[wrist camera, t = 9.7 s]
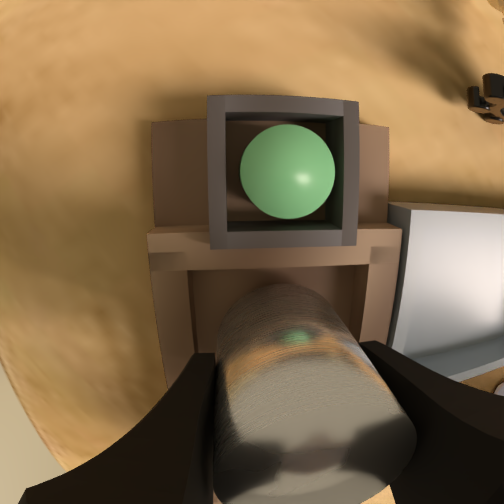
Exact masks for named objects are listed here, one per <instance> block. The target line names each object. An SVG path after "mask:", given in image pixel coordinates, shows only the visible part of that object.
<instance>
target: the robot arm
mask: <svg viewBox="0 0 504 504" xmlns="http://www.w3.org/2000/svg"><path fill="white" fill-rule="evenodd" d="M358 344H359V345H360V347H361V348H362V350H363V351H364V353H365V354H366V355H367V357H368V358H369V360H370V361H371V363H372V364H373V365H374V367H375V368H376V370H377V371H378V373H379V374H380V376H381V377H382V379H383V380H384V381H385V383H386V384H387V386H388V387H389V389H390V390H391V392H392V393H393V395H394V396H395V398H396V399H397V401H398V402H399V403H400V405H401V406H402V408H403V409H404V411H405V412H406V414H407V415H408V417H409V418H410V420H411V421H412V423H413V425H414V427H415V429H416V434H417V443H416V447H415V451H414V453H413V455H412V458H411V459H410V461H409V463H408V464H407V466H406V467H405V468H404V470H403V471H402V472H401V473H400V474H399V476H398V477H397V478H396V479H395V480H394V481H392V482H391V483H390V487H391V490H392V493H393V496H394V500H395V503H396V504H504V382H503V383H501V384H500V385H499V386H498V387H497V388H496V390H495V392H494V394H493V393H489V392H485V391H482V390H479V389H476V388H473V387H470V386H467V385H465V384H462V383H459V382H457V381H454V380H452V379H450V378H448V377H445V376H443V375H441V374H439V373H437V372H435V371H433V370H431V369H429V368H427V367H425V366H423V365H421V364H419V363H417V362H416V361H414V360H412V359H410V358H408V357H406V356H405V355H403V354H401V353H399V352H397V351H396V350H394V349H392V348H390V347H388V346H386V345H384V344H382V343H380V342H378V341H376V340H373V341H366V342H358ZM215 377H216V361H215V353H194V354H193V355H192V356H191V357H190V359H189V361H188V362H187V364H186V366H185V367H184V369H183V370H182V372H181V373H180V375H179V376H178V378H177V379H176V380H175V382H174V383H173V384H172V386H171V387H170V388H169V390H168V391H167V392H166V393H165V395H164V396H163V397H162V398H161V399H160V400H159V402H158V403H157V404H156V405H155V406H154V407H153V408H152V410H151V411H150V412H149V413H148V414H147V415H146V416H145V417H144V418H143V419H142V420H141V421H140V422H139V423H138V424H137V425H136V426H135V427H133V428H132V429H131V430H130V431H129V432H128V433H127V434H125V435H124V436H123V437H122V438H120V439H119V440H118V441H117V442H115V443H114V444H113V445H111V446H110V447H109V448H107V449H106V450H104V451H103V452H102V453H100V454H99V455H97V456H96V457H94V458H92V459H90V460H89V461H87V462H85V463H84V464H82V465H80V466H78V467H76V468H74V469H73V470H71V471H69V472H67V473H65V474H62V475H61V476H58V477H55V478H53V479H51V480H48V481H45V482H43V483H40V484H38V485H35V486H32V487H29V488H26V490H25V492H24V494H23V495H22V497H21V499H20V501H19V503H18V504H213V493H214V489H213V437H214V404H215Z"/></svg>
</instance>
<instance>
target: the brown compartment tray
mask: <svg viewBox="0 0 504 504" xmlns="http://www.w3.org/2000/svg"><path fill="white" fill-rule="evenodd" d="M284 124H290V125H297V126H301V127H304V128H307V129H309V130H311V131H312V132H314V133H315V134H317V135H318V136H319V137H320V138H321V139H322V140H323V141H324V142H325V144H326V145H327V147H328V148H329V150H330V152H331V154H332V157H333V160H334V166H335V179H334V184H333V187H332V190H331V192H330V194H329V196H328V197H327V199H326V200H325V202H324V203H323V204H322V205H321V206H320V207H319V208H318V209H316V210H315V211H313V212H312V213H310V214H308V215H306V216H303V217H299V218H294V219H283V218H277V217H274V216H271V215H269V214H267V213H265V212H263V211H262V210H260V209H259V208H258V207H257V206H256V205H255V204H254V203H253V202H252V201H251V200H250V198H249V197H248V195H247V194H246V193H245V191H244V189H243V187H242V185H241V182H240V178H239V163H240V159H241V156H242V154H243V152H244V150H245V149H246V147H247V146H248V145H249V144H250V142H251V141H252V140H253V139H254V138H255V137H256V136H257V135H258V134H260V133H261V132H263V131H264V130H266V129H268V128H270V127H274V126H277V125H284ZM152 178H153V201H154V219H155V227H154V228H153V229H152V230H151V231H150V232H148V233H147V244H148V255H149V265H150V275H151V284H152V292H153V300H154V308H155V315H156V322H157V329H158V335H159V342H160V348H161V354H162V360H163V365H164V371H165V376H166V382H167V387H168V390H169V388H170V387H171V386H172V384H173V383H174V382H175V380H176V379H177V378H178V376H179V375H180V373H181V372H182V370H183V369H184V367H185V366H186V364H187V362H188V361H189V359H190V357H191V356H192V355H193V354H194V353H215V361H216V354H217V335H218V330H219V327H220V324H221V321H222V319H223V318H224V316H225V314H226V313H227V311H228V310H229V309H230V308H231V306H232V305H233V304H234V303H235V302H237V301H238V300H239V299H240V298H241V297H243V296H245V295H246V294H248V293H249V292H252V291H254V290H256V289H258V288H261V287H264V286H269V285H273V284H294V285H300V286H303V287H307V288H309V289H311V290H313V291H315V292H317V293H318V294H320V295H321V296H322V297H324V298H325V299H326V300H327V301H328V303H329V304H330V305H331V306H332V308H333V309H334V310H335V312H336V313H337V315H338V316H339V317H340V319H341V320H342V322H343V323H344V324H345V326H346V327H347V329H348V330H349V331H350V333H351V334H352V336H353V337H354V338H355V340H356V341H357V343H358V342H366V341H373V340H376V341H378V342H380V343H382V344H384V345H386V341H387V336H388V331H389V326H390V320H391V315H392V309H393V302H394V296H395V289H396V282H397V275H398V267H399V258H400V249H401V239H402V229H401V228H399V227H396V226H394V225H391V224H389V223H387V212H388V190H389V127H384V126H376V125H367V124H359V102H356V101H347V100H338V99H328V98H316V97H301V96H281V95H210V96H207V119H192V120H176V121H163V122H152ZM213 504H222V503H221V502H220V501H219V499H218V498H217V496H216V495H215V493H213Z"/></svg>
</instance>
